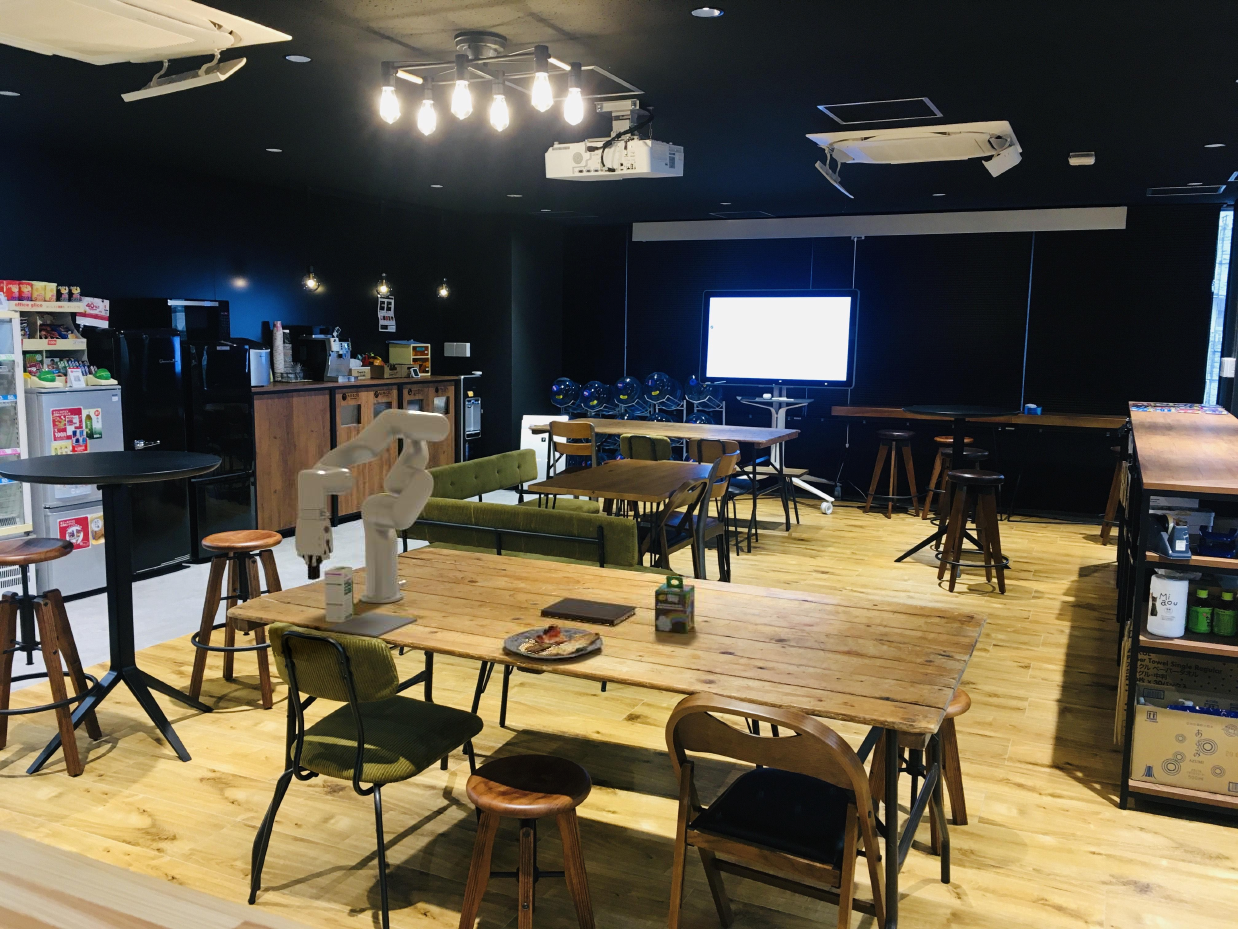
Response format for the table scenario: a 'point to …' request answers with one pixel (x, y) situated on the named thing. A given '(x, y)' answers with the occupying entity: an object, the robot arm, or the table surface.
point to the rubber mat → (372, 624)
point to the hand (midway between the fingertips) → (314, 578)
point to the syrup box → (339, 594)
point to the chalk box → (674, 606)
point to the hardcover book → (588, 611)
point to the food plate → (555, 642)
